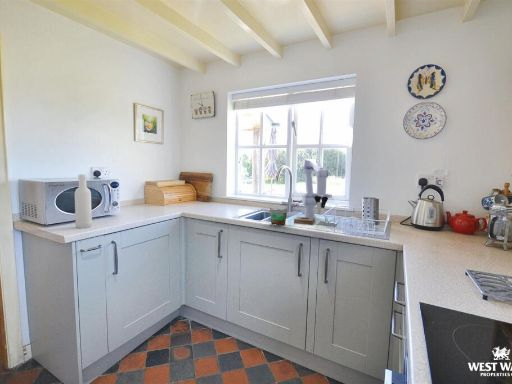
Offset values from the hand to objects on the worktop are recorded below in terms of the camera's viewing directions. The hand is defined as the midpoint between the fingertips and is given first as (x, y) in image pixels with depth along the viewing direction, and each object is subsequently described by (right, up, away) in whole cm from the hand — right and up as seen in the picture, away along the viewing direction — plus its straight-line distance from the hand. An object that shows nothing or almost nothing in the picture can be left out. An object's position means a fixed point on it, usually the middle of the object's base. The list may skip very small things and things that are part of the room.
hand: (320, 207), depth 173 cm
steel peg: (0, -4, 0) cm, 4 cm away
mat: (+5, -11, 0) cm, 12 cm away
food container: (-30, -11, -6) cm, 32 cm away
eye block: (-10, -10, +3) cm, 15 cm away
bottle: (-142, -10, -24) cm, 144 cm away
